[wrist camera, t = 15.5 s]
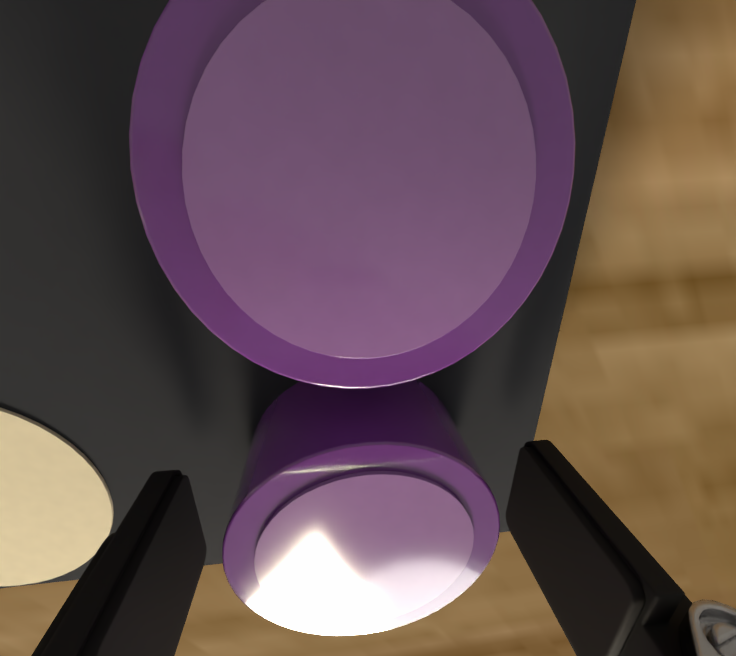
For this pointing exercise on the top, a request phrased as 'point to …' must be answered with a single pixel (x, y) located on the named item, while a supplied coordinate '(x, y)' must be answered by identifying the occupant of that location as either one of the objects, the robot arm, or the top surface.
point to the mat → (170, 313)
